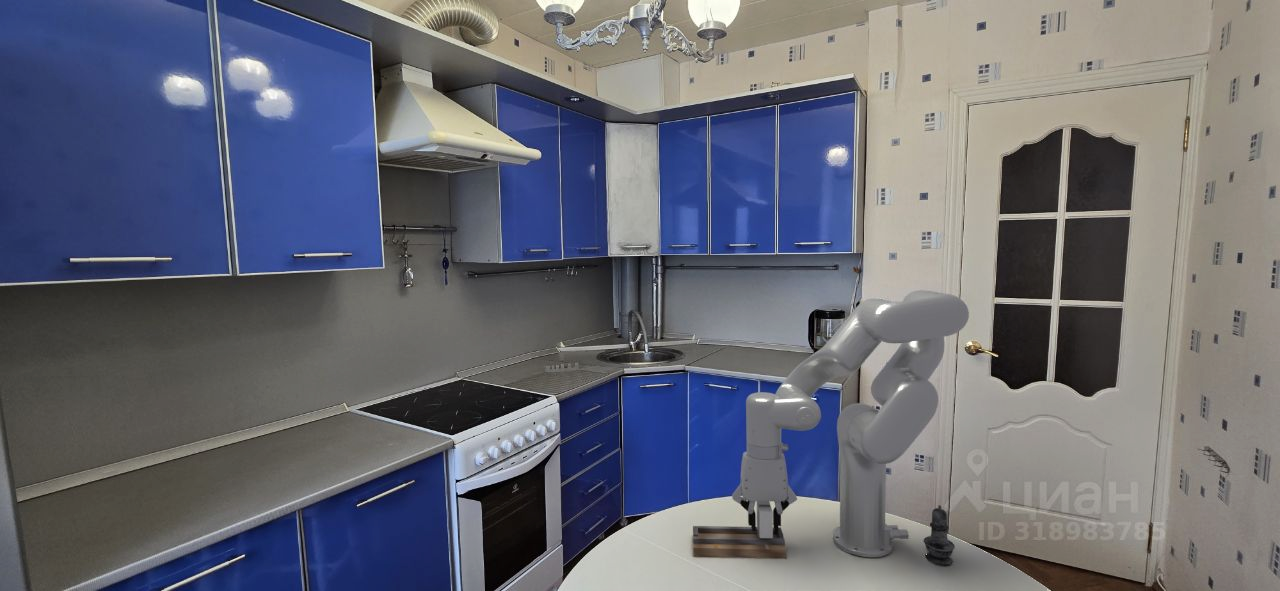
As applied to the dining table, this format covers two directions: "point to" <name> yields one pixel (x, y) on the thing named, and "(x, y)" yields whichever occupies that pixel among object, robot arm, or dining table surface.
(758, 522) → the block
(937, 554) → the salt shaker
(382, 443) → the dining table surface
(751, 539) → the wooden tray
